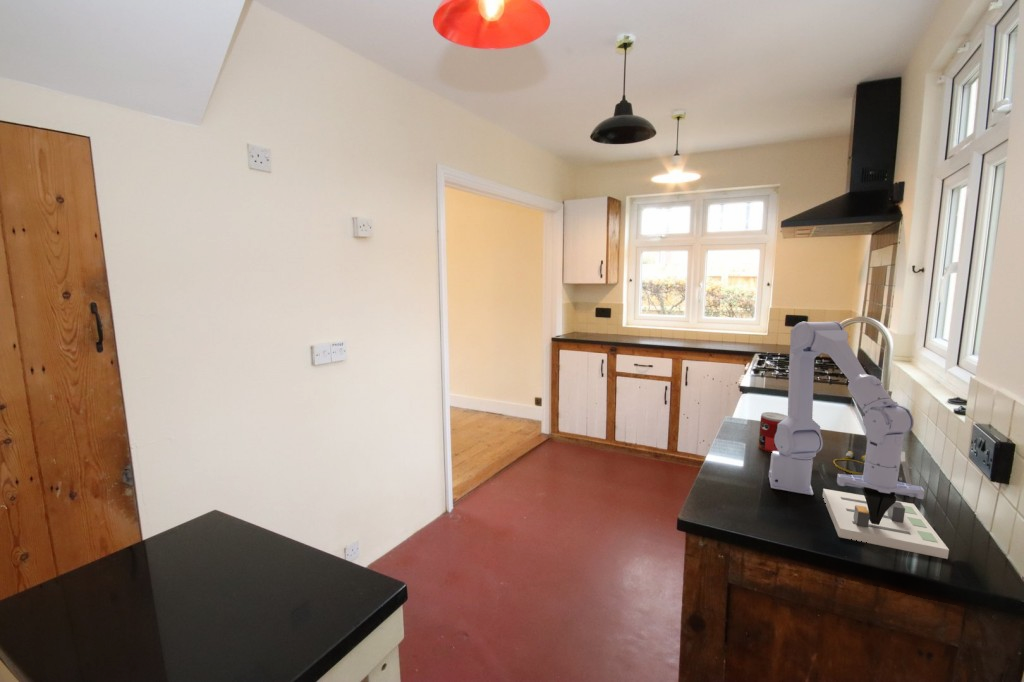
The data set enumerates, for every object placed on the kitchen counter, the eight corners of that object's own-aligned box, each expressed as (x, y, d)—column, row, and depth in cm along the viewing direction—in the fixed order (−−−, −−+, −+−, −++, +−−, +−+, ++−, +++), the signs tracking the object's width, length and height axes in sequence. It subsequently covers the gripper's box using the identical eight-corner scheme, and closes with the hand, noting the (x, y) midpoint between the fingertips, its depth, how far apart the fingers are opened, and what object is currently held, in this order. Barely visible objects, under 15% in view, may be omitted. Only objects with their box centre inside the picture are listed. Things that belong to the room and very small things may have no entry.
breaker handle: (856, 525, 101) (858, 511, 100) (853, 518, 103) (855, 504, 103) (868, 527, 100) (869, 513, 99) (864, 520, 102) (866, 506, 102)
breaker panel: (838, 537, 100) (841, 513, 99) (822, 496, 118) (824, 476, 117) (947, 559, 93) (951, 534, 92) (912, 511, 111) (915, 490, 110)
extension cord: (896, 469, 135) (897, 463, 135) (867, 481, 127) (868, 474, 127) (849, 455, 145) (850, 449, 145) (820, 465, 138) (821, 458, 138)
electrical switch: (914, 499, 117) (914, 463, 116) (887, 495, 120) (887, 459, 119) (912, 486, 124) (913, 452, 123) (887, 482, 127) (888, 449, 126)
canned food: (760, 442, 154) (763, 410, 152) (788, 448, 149) (791, 415, 148) (756, 450, 148) (759, 416, 146) (785, 455, 143) (788, 421, 142)
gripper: (844, 463, 98) (837, 523, 100) (933, 476, 92) (923, 540, 94) (837, 451, 104) (831, 508, 106) (920, 462, 98) (911, 522, 100)
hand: (874, 522), depth 100 cm, fingers closed
